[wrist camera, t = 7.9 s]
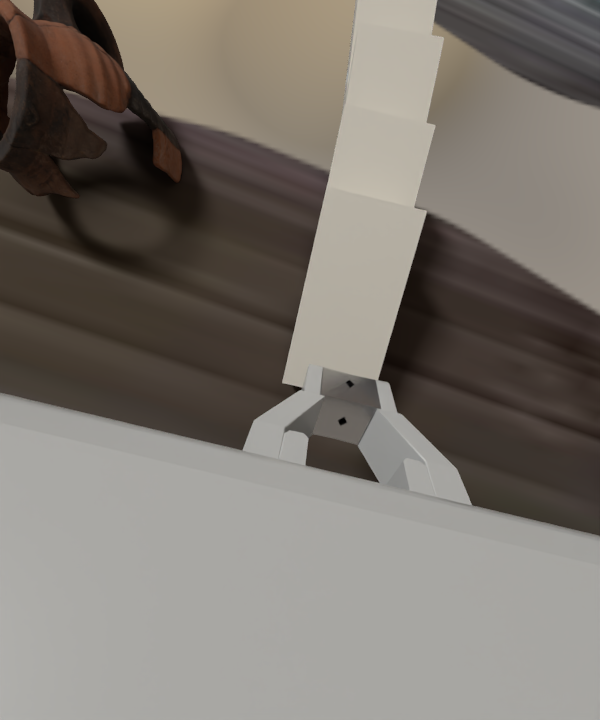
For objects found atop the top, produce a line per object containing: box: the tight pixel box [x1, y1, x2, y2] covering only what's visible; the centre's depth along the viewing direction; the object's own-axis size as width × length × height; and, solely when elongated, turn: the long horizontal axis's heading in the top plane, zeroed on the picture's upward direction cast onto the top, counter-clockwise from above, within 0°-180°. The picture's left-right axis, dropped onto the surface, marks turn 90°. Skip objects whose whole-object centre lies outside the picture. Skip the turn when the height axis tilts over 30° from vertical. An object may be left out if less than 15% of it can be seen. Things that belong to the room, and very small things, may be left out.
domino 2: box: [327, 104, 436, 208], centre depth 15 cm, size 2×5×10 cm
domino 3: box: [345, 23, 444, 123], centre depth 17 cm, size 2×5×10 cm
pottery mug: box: [0, 0, 182, 198], centre depth 16 cm, size 12×10×8 cm
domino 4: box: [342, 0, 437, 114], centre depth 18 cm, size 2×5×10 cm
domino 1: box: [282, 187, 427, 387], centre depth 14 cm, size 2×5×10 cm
